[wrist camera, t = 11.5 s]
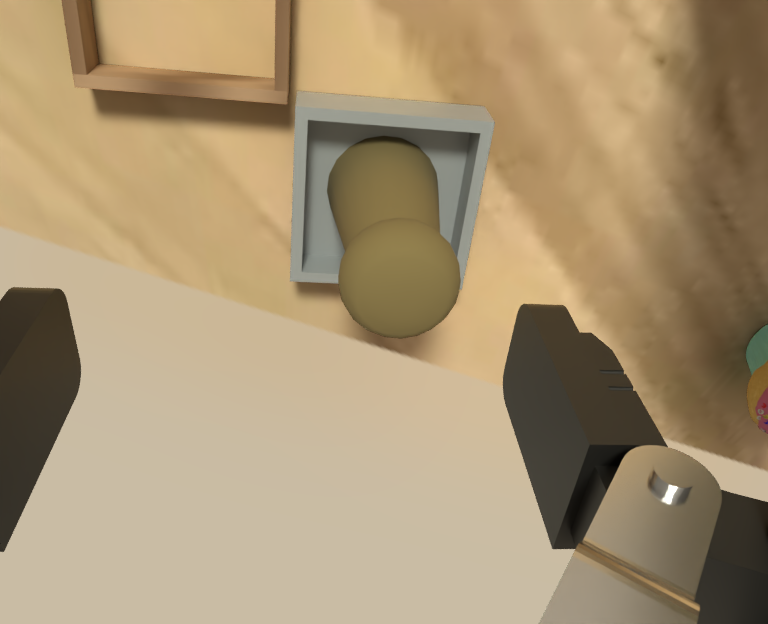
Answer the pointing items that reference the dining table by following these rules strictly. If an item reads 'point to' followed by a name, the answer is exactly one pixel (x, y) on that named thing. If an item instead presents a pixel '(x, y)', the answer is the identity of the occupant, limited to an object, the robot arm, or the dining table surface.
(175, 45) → the dining table surface
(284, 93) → the walnut frame
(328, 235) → the grey tray
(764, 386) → the cupcake
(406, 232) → the olive pawn
